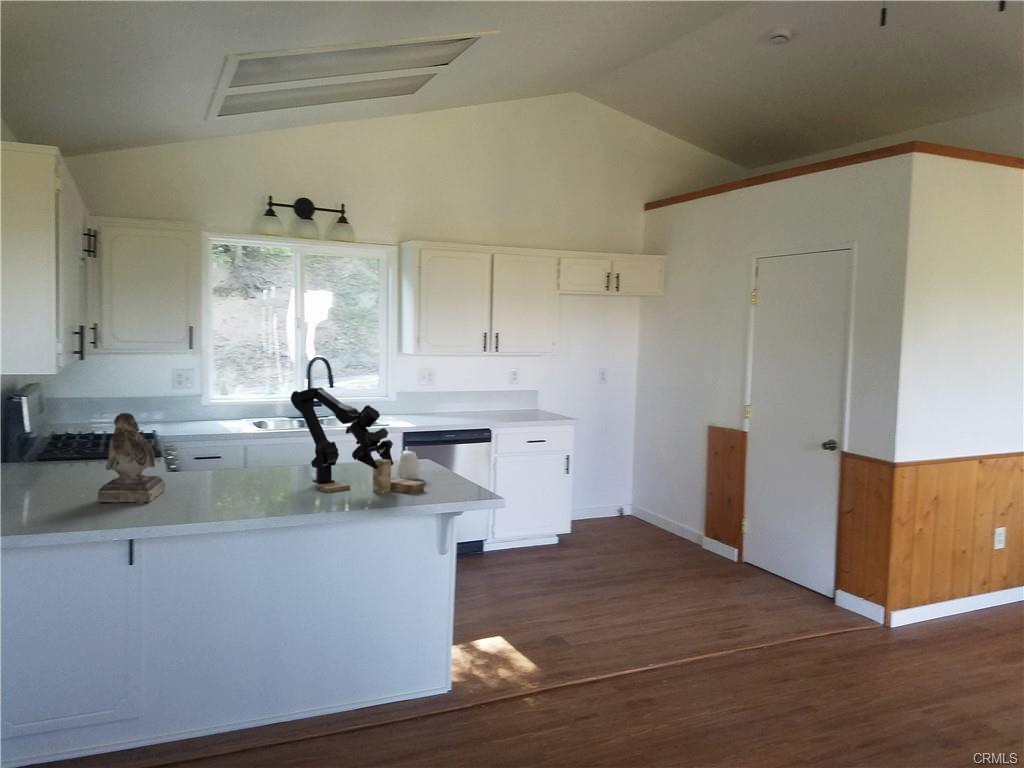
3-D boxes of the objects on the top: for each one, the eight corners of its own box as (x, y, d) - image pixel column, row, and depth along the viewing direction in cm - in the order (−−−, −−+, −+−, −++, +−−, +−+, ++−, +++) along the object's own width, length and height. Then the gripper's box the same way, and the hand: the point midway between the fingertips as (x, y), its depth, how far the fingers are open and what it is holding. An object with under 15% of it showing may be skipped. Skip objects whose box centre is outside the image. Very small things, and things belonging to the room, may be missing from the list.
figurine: (415, 483, 300) (416, 453, 299) (392, 481, 302) (393, 452, 301) (423, 478, 310) (423, 449, 309) (401, 476, 312) (401, 448, 311)
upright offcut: (372, 491, 283) (373, 460, 282) (380, 489, 287) (380, 458, 286) (383, 493, 281) (383, 461, 280) (390, 491, 285) (391, 460, 284)
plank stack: (376, 488, 288) (377, 480, 288) (388, 485, 295) (388, 477, 294) (413, 494, 280) (413, 485, 280) (424, 490, 287) (425, 482, 286)
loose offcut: (317, 489, 284) (317, 485, 283) (340, 485, 291) (340, 481, 290) (326, 492, 279) (326, 488, 279) (349, 489, 286) (350, 484, 286)
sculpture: (149, 503, 255) (148, 416, 253) (96, 504, 252) (95, 416, 250) (165, 491, 273) (164, 410, 271) (116, 491, 271) (115, 409, 268)
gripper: (358, 424, 275) (381, 457, 271) (389, 419, 292) (412, 450, 287) (341, 443, 280) (364, 475, 275) (373, 437, 296) (395, 468, 292)
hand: (385, 466), depth 282 cm, fingers open, 9 cm apart
